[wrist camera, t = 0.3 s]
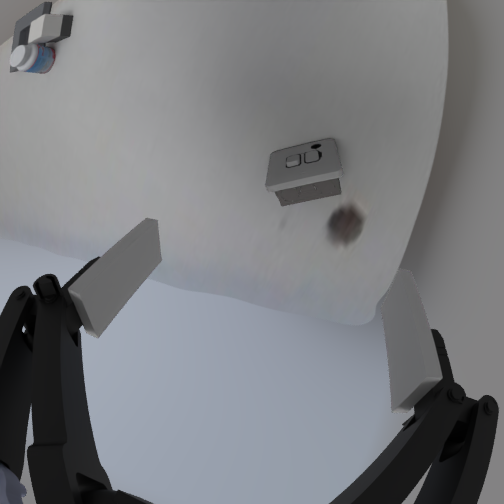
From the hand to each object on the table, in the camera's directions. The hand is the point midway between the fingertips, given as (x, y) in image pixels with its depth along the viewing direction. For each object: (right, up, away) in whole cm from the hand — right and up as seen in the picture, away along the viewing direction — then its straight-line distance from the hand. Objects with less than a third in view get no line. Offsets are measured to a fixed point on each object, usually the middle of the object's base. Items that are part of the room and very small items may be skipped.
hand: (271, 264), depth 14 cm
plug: (-39, +46, +16) cm, 62 cm away
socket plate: (-52, +51, +17) cm, 75 cm away
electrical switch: (+7, +14, +23) cm, 28 cm away
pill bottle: (-45, +42, +21) cm, 65 cm away
